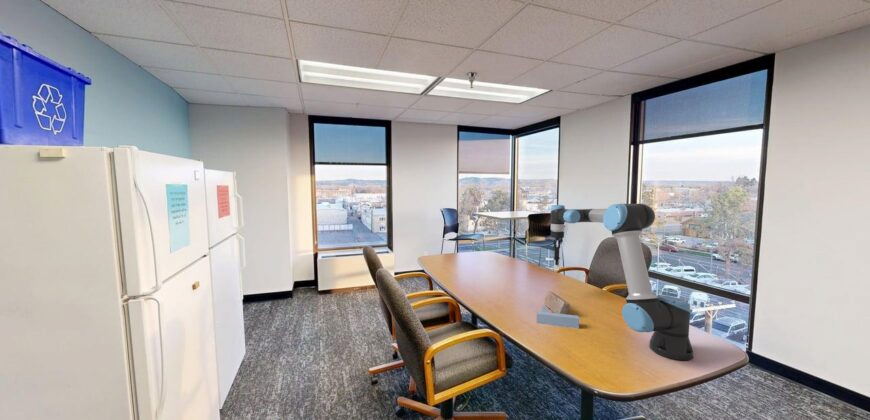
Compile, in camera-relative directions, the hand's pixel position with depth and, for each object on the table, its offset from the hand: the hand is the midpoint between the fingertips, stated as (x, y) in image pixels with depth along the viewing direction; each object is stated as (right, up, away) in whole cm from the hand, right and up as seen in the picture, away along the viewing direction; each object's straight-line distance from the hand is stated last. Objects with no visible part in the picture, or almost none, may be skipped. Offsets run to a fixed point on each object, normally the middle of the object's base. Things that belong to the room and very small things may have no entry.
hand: (556, 269), depth 195 cm
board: (-9, -22, -25) cm, 35 cm away
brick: (-5, -22, -13) cm, 26 cm away
